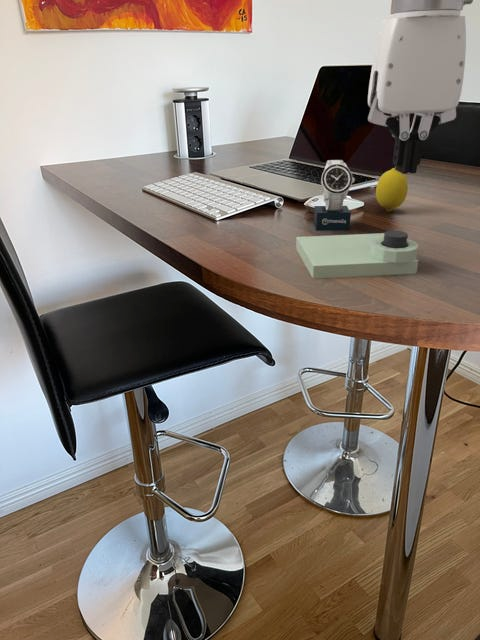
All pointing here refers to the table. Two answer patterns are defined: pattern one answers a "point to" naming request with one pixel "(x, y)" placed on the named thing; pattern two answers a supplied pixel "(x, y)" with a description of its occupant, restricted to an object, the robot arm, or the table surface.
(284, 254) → the table surface
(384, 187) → the lemon
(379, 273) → the scale
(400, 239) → the button
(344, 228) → the watch
